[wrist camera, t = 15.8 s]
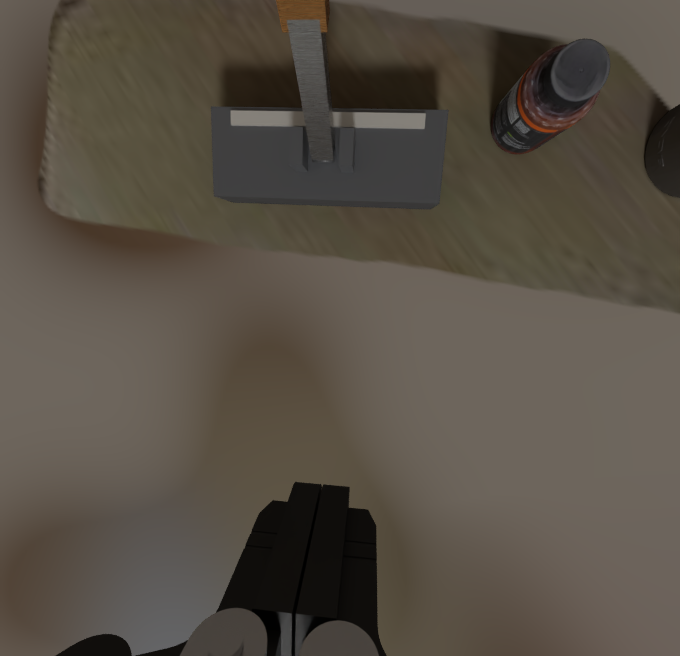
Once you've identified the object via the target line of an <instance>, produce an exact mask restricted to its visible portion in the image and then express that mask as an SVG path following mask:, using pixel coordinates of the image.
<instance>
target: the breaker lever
mask: <svg viewBox="0 0 680 656" xmlns="http://www.w3.org/2000/svg"><path fill="white" fill-rule="evenodd" d="M276 2H277V7H278V12H279V17H280V22H281V27H282V32H289V36H290V42H291V47H292V53H293V58H294V64H295V69H296V75H297V81H298V86H299V92H300V97H301V103H302V108H303V114H304V119H305V125H306V131H307V136H308V142H309V147H310V153H311V158H312V162H317V163H335V154H336V147H335V135H334V124H333V112H332V101H331V90H330V79H329V67H328V56H327V45H326V34H325V32H327V30H328V22H329V14H330V7H329V0H276Z"/></svg>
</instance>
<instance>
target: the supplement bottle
mask: <svg viewBox="0 0 680 656" xmlns="http://www.w3.org/2000/svg"><path fill="white" fill-rule="evenodd" d="M609 70H610V59H609V54H608V52H607V50H606V49H605V47H604V46H603V45H602V44H600V43H599V42H597V41H595V40H592V39H579V40H576V41H574V42H571V43H569V44H566V45H560V46H557V47H554V48H552V49H550V50H548V51H546V52H545V53H543V54H542V55H541V56H540V57H538V58H537V59H536V60H535V61H534V62H533V63H532V65H531V66H530V67H529V68H528V69H527V70H526V72H525V73H524V74H523V75H522V76H521V78H520V79H519V80H518V81H517V82H516V84H515V85H514V86H513V87H512V88H511V90H510V91H509V92H508V93H507V95H506V96H505V97H504V98H503V99H502V101H501V102H500V103H499V105H498V106H497V108H496V110H495V111H494V114H493V117H492V121H491V132H492V136H493V139H494V141H495V142H496V144H497V145H498V146H499V147H500V148H501V149H502V150H504V151H506V152H508V153H511V154H524V153H528V152H530V151H533V150H534V149H536V148H538V147H540V146H541V145H543V144H544V143H546V142H547V141H549V140H551V139H552V138H554V137H555V136H557V135H558V134H560V133H561V132H563V131H565V130H566V129H568V128H569V127H571V126H572V125H574V124H575V123H577V122H578V121H579V120H581V119H582V118H583V117H584V116H585V115H586V114H587V113H588V112H589V111H590V110H591V108H592V107H593V105H594V104H595V102H596V100H597V98H598V95H599V92H600V89H601V88H602V87H603V85H604V84H605V82H606V80H607V78H608V75H609Z"/></svg>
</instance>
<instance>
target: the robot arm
mask: <svg viewBox="0 0 680 656" xmlns="http://www.w3.org/2000/svg"><path fill="white" fill-rule="evenodd" d="M645 163H646V169H647V172H648V175H649V178H650V179H651V181H652V182H653V184H654V185H655V186H656V187H657V188H658V189H660V190H661V191H662V192H664V193H666V194H668V195H670V196H674V197H678V198H680V105H678V106H676V107H675V108H673V109H671V110H670V111H669V112H668V113H667V114H666V115H665V116H664V117H662V119H661V120H660V121H659V122H658V124H657V125H656V126H655V128H654V130H653V131H652V133H651V135H650V137H649V140H648V143H647V147H646V153H645ZM376 560H377V553H376V524H375V522H374V520H373V519H372V517H371V515H370V513H369V511H368V510H366V509H356V508H349V487H345V486H334V485H323V487H322V486H321V484H311V483H300V482H295V483H294V485H293V488H292V491H291V494H290V497H289V500H288V502H283V501H274V500H273V501H272V502H270V504H268V505H267V506H266V507H265V508H264V509H263V510H262V511H261V512H260V513H259V515H258V517H257V519H256V522H255V524H254V527H253V529H252V532H251V534H250V536H249V538H248V541H247V543H246V546H245V549H244V550H243V552H242V554H241V557H240V559H239V561H238V564H237V566H236V568H235V571H234V573H233V575H232V578H231V580H230V582H229V585H228V587H227V589H226V592H225V594H224V597H223V599H222V601H221V603H220V606H219V608H218V610H217V612H216V613H215V614H213V615H211V616H210V617H208V618H207V619H205V620H204V621H203V622H202V623H201V624H200V625H199V626H198V627H197V628H196V629H195V631H194V632H193V633H192V635H191V636H190V638H189V640H187V641H186V642H184V643H181V644H179V645H177V646H174V647H170V648H167V649H163V650H158V651H154V652H149V653H145V654H140V655H136V656H386V654H385V652H384V650H383V648H382V645H381V643H380V639H379V635H378V627H377V563H376ZM56 656H132V655H131V650H130V647H129V645H128V643H127V642H126V641H125V640H124V639H123V638H121V637H119V636H117V635H112V634H102V635H96V636H92V637H89V638H86V639H84V640H82V641H80V642H78V643H76V644H74V645H72V646H70V647H69V648H67V649H66V650H65V651H62V652H61V653H59V654H58V655H56Z"/></svg>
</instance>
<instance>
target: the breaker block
mask: <svg viewBox="0 0 680 656" xmlns="http://www.w3.org/2000/svg"><path fill="white" fill-rule="evenodd" d="M332 112H333V124H334V135H335V147H336V154H335V163H317V162H312V158H311V153H310V147H309V142H308V136H307V131H306V125H305V119H304V114H303V108H275V107H211V121H212V152H213V183H214V196H215V197H218V198H221V199H224V200H227V201H230V202H235V203H264V204H293V205H321V206H350V207H379V208H407V209H432V208H434V207H435V206H437V205H438V204H439V201H440V191H441V181H442V171H443V160H444V150H445V140H446V130H447V120H448V110H418V109H347V108H332Z"/></svg>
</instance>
